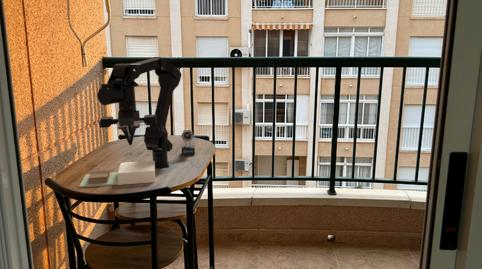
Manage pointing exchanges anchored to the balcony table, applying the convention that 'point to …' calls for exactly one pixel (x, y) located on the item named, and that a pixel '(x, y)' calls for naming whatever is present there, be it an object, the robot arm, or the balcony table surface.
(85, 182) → the sage green mat
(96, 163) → the balcony table surface
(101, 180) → the walnut tile
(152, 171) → the block
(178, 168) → the balcony table surface
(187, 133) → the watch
